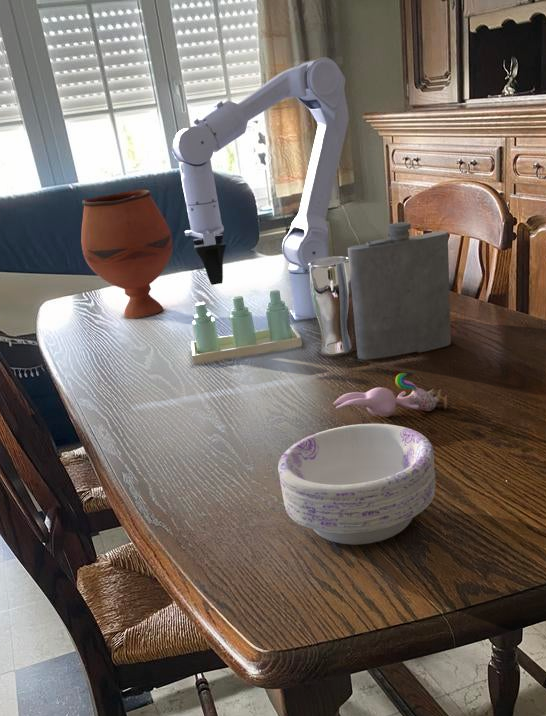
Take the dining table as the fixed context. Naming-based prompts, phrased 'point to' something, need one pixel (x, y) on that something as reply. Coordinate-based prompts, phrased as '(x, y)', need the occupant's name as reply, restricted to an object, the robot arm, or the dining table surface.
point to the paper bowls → (358, 481)
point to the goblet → (127, 245)
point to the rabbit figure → (392, 399)
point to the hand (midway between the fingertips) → (215, 279)
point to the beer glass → (333, 303)
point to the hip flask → (400, 293)
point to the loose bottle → (205, 330)
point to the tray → (246, 347)
